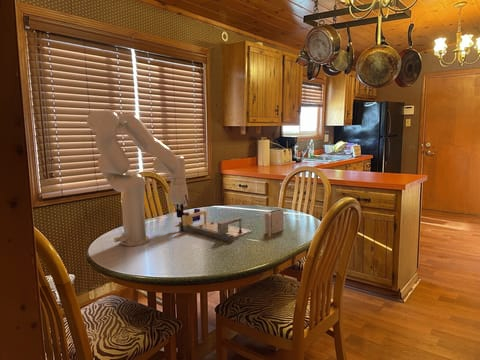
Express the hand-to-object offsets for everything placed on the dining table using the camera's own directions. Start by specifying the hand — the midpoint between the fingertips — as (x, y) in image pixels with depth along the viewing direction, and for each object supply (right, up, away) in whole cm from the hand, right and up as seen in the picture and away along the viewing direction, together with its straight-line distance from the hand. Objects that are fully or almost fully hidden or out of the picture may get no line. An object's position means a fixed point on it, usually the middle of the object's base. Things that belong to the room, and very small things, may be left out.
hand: (180, 216), depth 182 cm
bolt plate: (+21, -6, -2) cm, 22 cm away
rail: (+14, -8, -12) cm, 20 cm away
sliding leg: (+8, -5, 0) cm, 9 cm away
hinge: (+47, -7, -8) cm, 48 cm away
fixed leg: (+26, -7, -15) cm, 31 cm away
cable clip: (+3, -4, +17) cm, 18 cm away
